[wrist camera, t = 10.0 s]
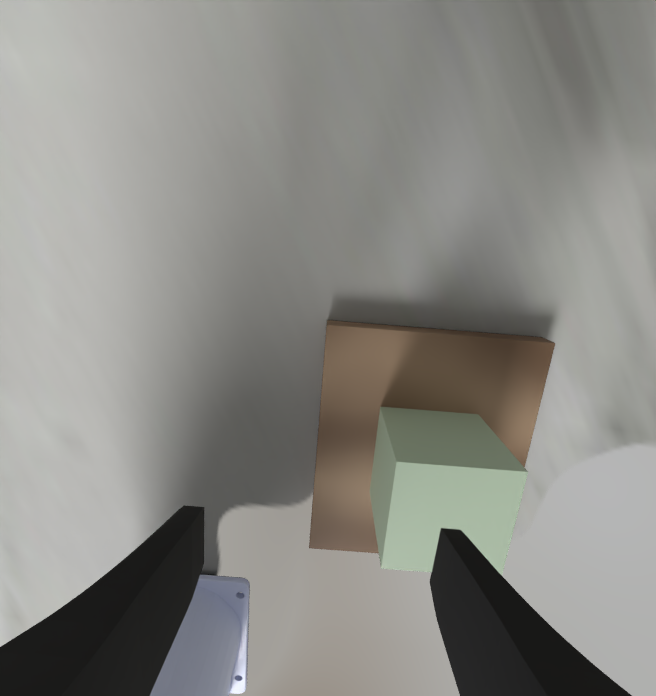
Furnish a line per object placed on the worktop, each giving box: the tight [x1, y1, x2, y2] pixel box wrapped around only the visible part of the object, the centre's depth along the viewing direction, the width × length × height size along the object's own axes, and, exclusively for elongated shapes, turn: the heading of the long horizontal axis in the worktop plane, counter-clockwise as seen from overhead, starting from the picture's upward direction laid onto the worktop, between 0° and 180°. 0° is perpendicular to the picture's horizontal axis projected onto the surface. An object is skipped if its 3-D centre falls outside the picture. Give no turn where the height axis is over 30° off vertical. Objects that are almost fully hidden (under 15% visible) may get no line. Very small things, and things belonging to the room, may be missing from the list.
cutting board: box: [309, 320, 555, 553], centre depth 20 cm, size 13×11×1 cm
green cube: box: [370, 407, 528, 575], centre depth 17 cm, size 5×5×5 cm
